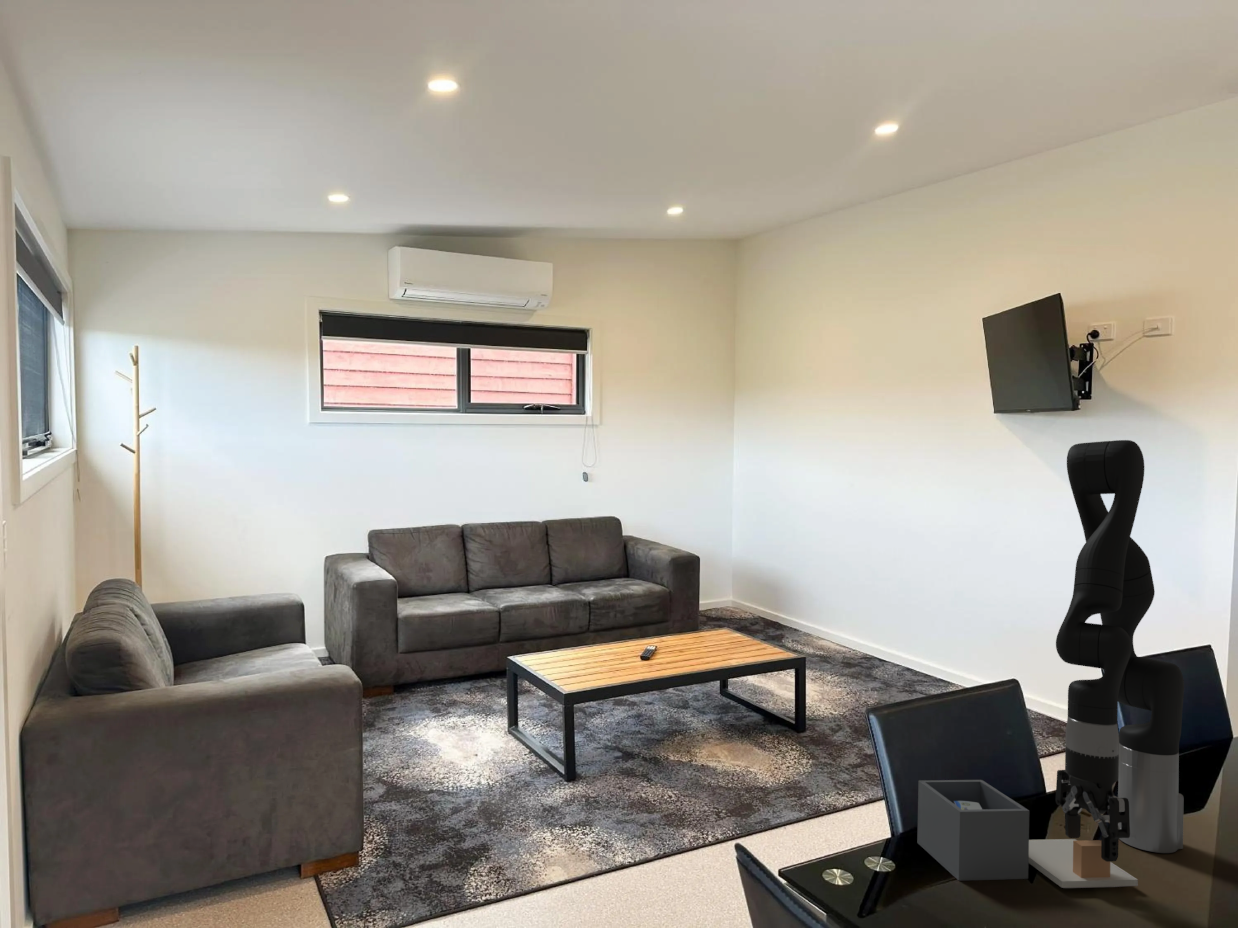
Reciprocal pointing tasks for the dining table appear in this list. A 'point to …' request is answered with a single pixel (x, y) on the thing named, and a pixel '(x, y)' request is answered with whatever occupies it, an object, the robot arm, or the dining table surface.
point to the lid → (1076, 864)
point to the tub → (973, 830)
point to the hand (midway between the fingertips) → (1090, 848)
